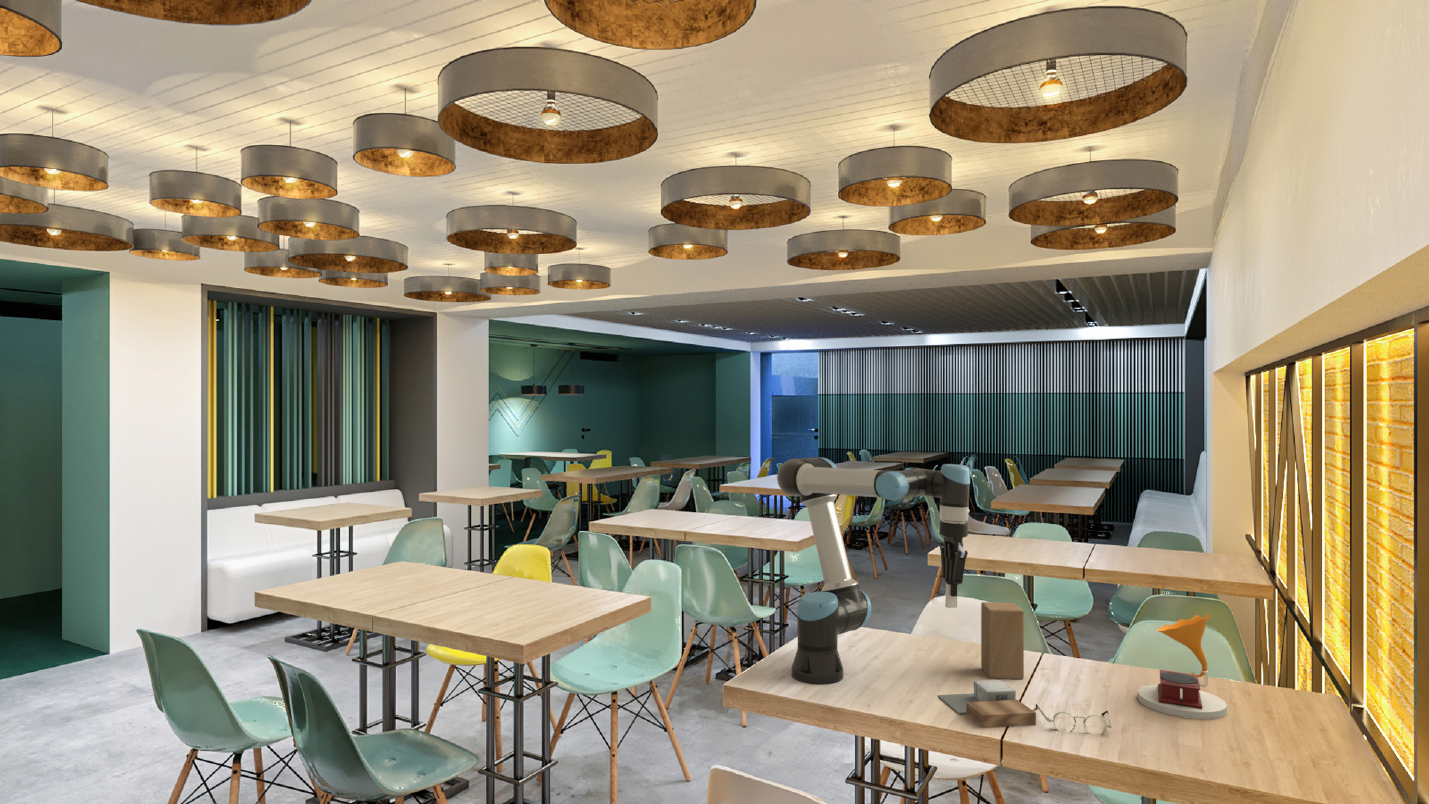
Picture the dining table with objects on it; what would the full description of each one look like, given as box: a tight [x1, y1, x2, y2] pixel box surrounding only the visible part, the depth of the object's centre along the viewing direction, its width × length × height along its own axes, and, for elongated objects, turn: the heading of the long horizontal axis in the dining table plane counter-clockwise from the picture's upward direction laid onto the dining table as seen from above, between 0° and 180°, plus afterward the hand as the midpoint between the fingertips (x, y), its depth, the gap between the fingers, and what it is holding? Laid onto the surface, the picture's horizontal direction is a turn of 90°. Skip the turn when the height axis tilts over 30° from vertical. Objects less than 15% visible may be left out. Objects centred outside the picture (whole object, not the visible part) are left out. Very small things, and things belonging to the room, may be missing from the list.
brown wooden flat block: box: [965, 699, 1037, 728], centre depth 203 cm, size 14×9×3 cm, turn 98°
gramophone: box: [1137, 613, 1228, 720], centre depth 214 cm, size 20×20×25 cm
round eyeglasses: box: [1035, 703, 1113, 736], centre depth 202 cm, size 17×15×5 cm
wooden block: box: [980, 601, 1025, 680], centre depth 239 cm, size 10×10×20 cm
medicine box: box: [973, 679, 1017, 702], centre depth 214 cm, size 8×4×9 cm
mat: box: [937, 692, 980, 715], centre depth 214 cm, size 17×13×1 cm
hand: (951, 607), depth 220 cm, fingers closed
